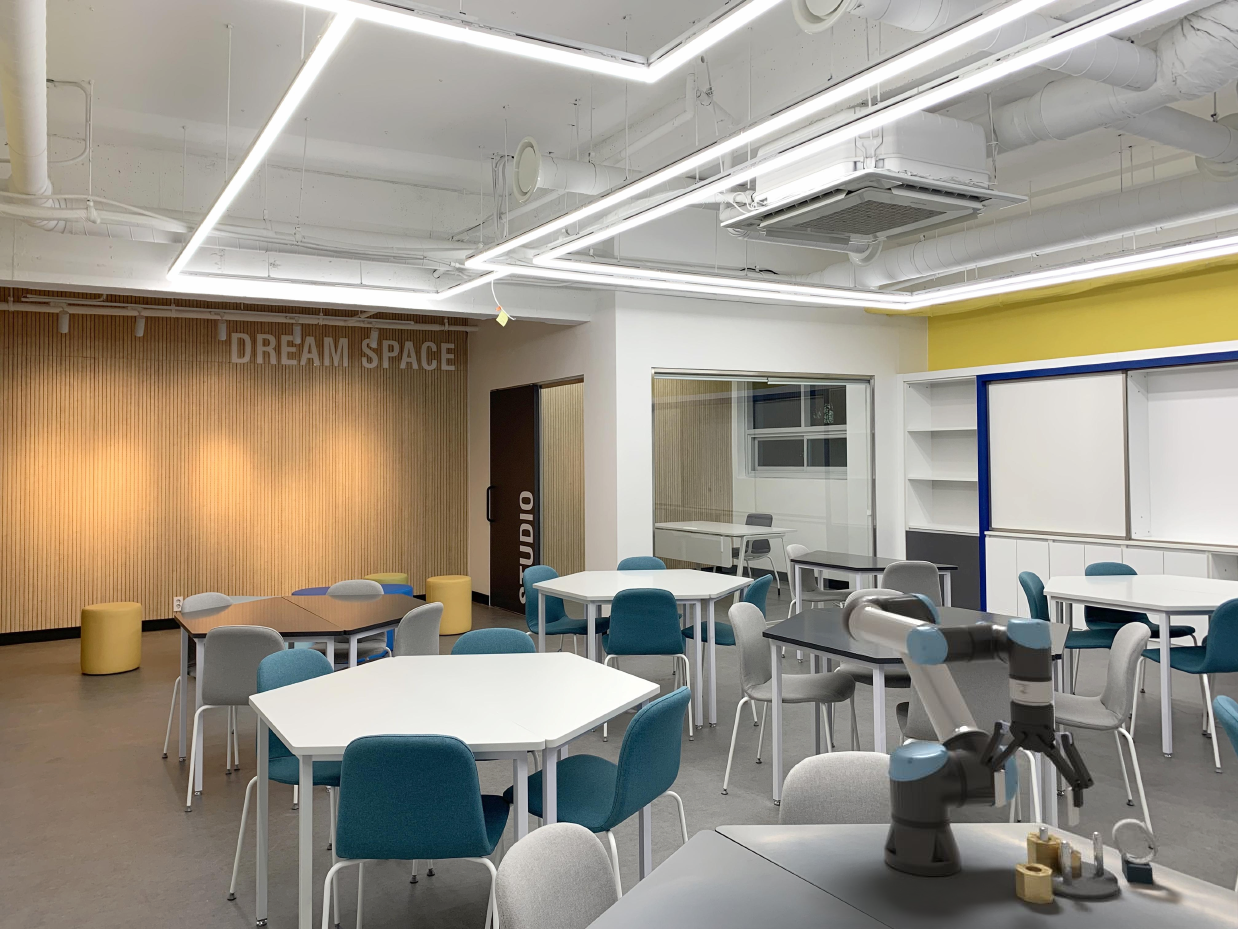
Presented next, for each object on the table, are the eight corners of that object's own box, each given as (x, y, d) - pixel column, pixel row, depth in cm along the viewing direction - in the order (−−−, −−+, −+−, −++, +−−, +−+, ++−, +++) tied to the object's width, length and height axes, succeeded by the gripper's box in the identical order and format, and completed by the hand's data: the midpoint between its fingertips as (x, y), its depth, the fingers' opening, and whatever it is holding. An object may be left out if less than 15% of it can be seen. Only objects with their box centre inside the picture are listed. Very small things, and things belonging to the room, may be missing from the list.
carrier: (1020, 887, 163) (1017, 837, 164) (1031, 859, 177) (1029, 813, 178) (1115, 906, 155) (1112, 853, 155) (1120, 875, 168) (1117, 827, 169)
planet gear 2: (1015, 899, 158) (1013, 871, 159) (1020, 887, 163) (1018, 860, 164) (1051, 906, 155) (1049, 878, 156) (1054, 894, 160) (1053, 866, 161)
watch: (1165, 886, 163) (1161, 827, 164) (1117, 881, 166) (1113, 823, 166) (1158, 875, 168) (1154, 818, 169) (1111, 870, 171) (1108, 814, 172)
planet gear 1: (1026, 865, 170) (1025, 840, 170) (1030, 855, 175) (1029, 830, 175) (1060, 871, 167) (1058, 845, 167) (1063, 861, 172) (1062, 836, 172)
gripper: (959, 694, 169) (963, 802, 168) (1093, 715, 150) (1099, 838, 149) (977, 688, 174) (982, 794, 173) (1109, 708, 155) (1115, 827, 154)
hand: (1036, 814), depth 161 cm, fingers open, 13 cm apart
